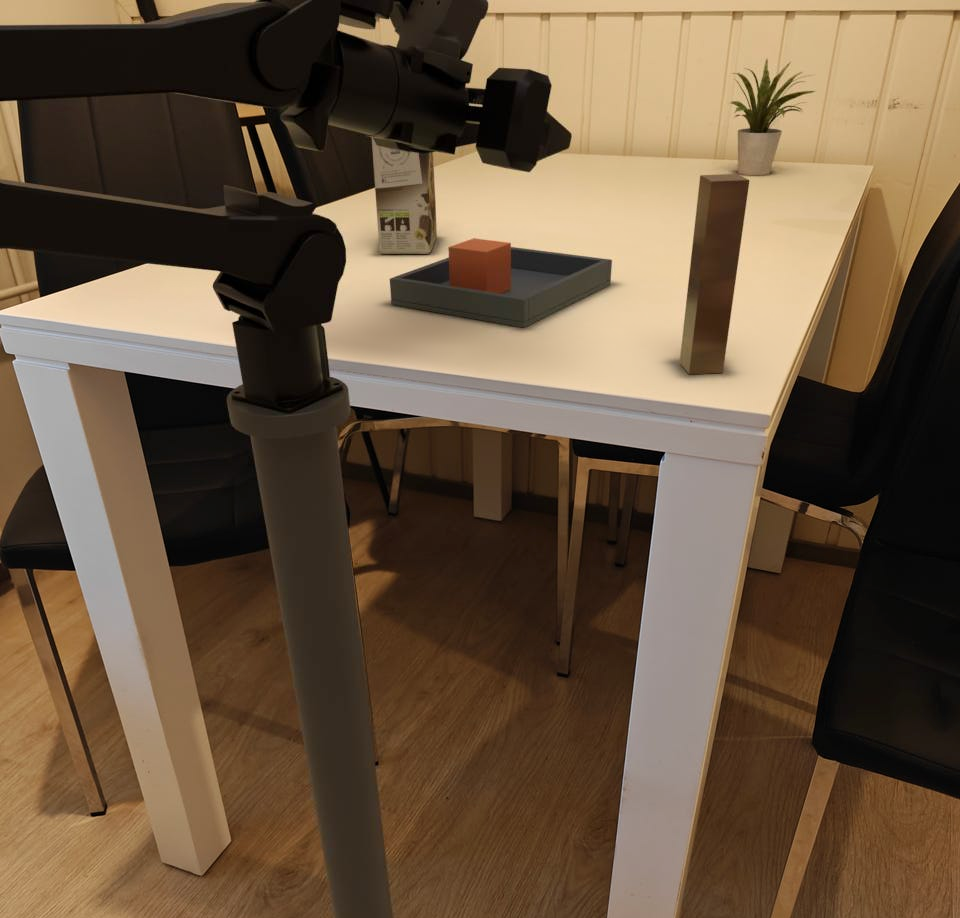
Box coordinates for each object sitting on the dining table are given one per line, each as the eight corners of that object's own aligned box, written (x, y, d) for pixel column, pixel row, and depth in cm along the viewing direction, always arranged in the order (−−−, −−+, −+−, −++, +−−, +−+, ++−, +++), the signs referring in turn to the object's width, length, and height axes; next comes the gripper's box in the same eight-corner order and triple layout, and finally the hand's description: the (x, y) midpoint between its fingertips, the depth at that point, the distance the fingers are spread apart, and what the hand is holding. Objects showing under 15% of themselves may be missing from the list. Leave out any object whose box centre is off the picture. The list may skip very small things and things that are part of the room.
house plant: (758, 184, 144) (776, 62, 134) (691, 174, 153) (703, 59, 143) (812, 173, 151) (833, 57, 141) (745, 164, 160) (761, 54, 150)
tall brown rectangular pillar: (688, 374, 73) (711, 181, 65) (679, 363, 75) (700, 175, 67) (723, 372, 73) (749, 179, 65) (712, 361, 75) (737, 173, 67)
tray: (524, 327, 84) (524, 299, 82) (391, 304, 91) (389, 278, 89) (610, 284, 96) (612, 259, 94) (487, 267, 103) (486, 243, 101)
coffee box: (431, 254, 108) (424, 97, 99) (378, 255, 109) (366, 98, 99) (438, 238, 116) (432, 90, 106) (388, 238, 116) (378, 91, 107)
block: (487, 300, 90) (486, 251, 87) (449, 294, 92) (448, 246, 89) (511, 289, 93) (511, 242, 90) (474, 284, 95) (473, 238, 92)
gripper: (477, -50, 56) (639, 23, 66) (322, -39, 68) (479, 22, 78) (446, 150, 61) (602, 190, 71) (306, 128, 73) (456, 165, 83)
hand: (531, 136), depth 76 cm, fingers open, 9 cm apart
